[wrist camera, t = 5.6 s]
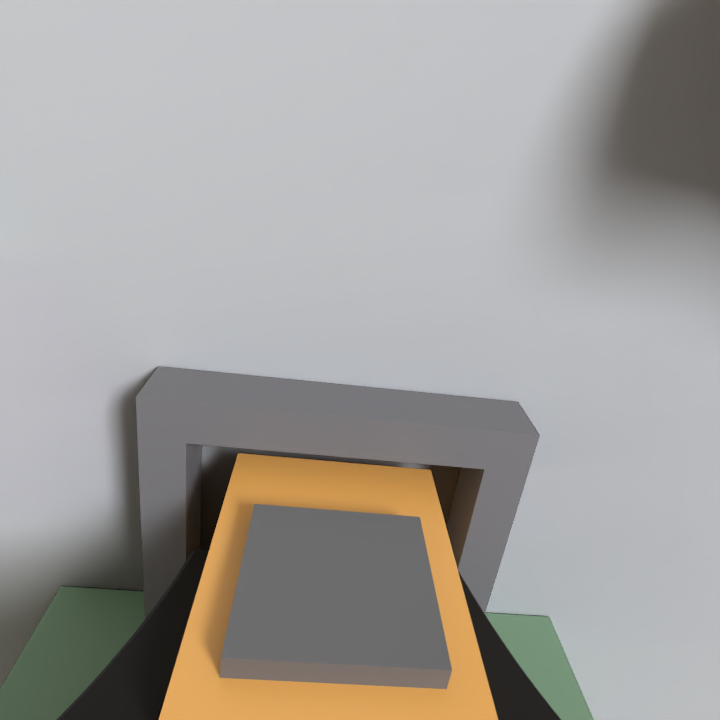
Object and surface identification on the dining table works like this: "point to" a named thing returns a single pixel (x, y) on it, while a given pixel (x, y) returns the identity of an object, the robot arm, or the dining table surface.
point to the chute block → (329, 602)
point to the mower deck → (307, 436)
